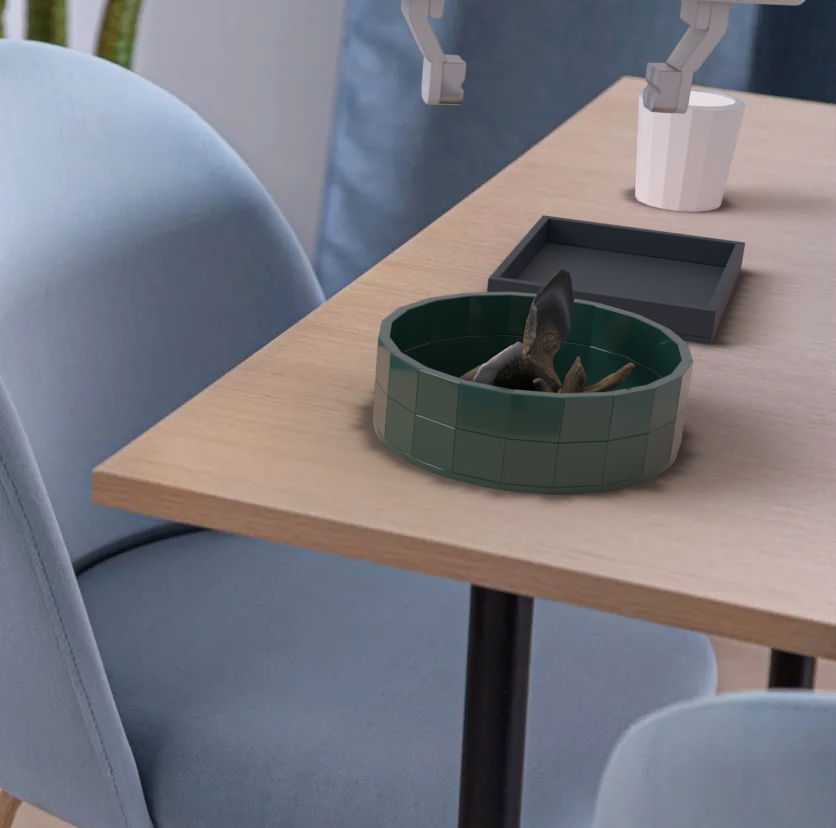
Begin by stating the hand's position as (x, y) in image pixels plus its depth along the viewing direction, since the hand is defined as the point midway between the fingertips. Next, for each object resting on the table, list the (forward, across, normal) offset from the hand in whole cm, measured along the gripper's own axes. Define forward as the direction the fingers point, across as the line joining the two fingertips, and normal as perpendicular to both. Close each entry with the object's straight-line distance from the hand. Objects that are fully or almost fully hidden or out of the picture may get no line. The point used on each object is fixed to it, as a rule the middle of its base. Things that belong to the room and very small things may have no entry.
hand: (553, 106), depth 73 cm
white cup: (+15, -20, -40) cm, 47 cm away
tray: (+15, -10, -21) cm, 27 cm away
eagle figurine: (+14, 0, 0) cm, 14 cm away
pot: (+15, 0, 0) cm, 15 cm away
